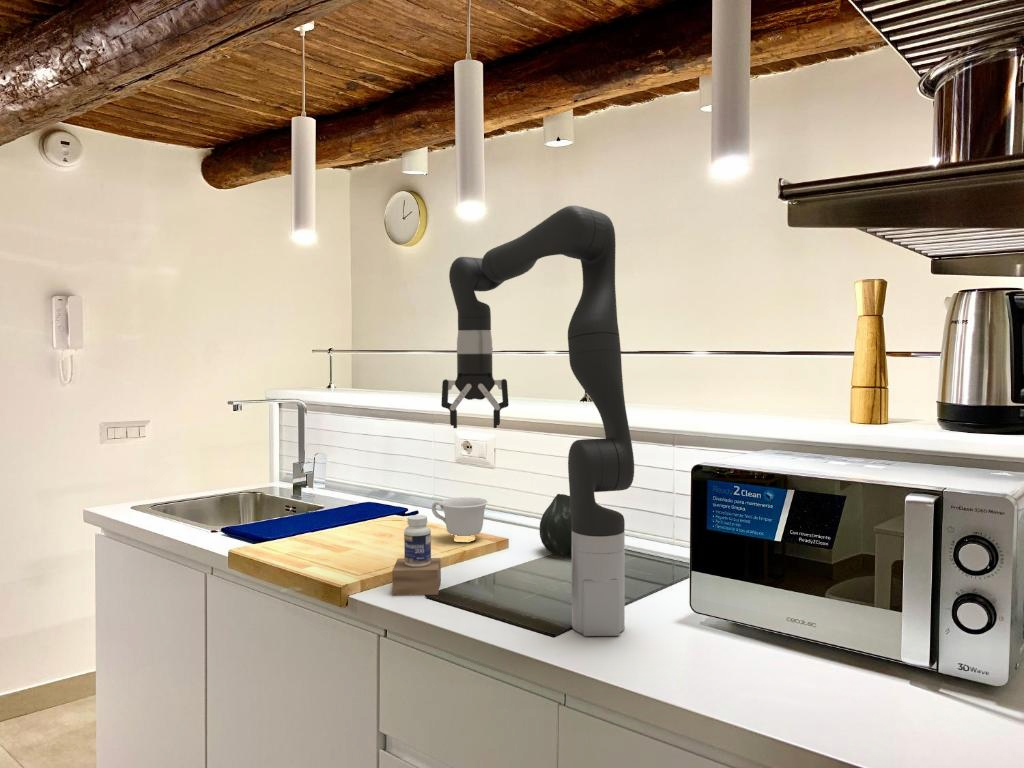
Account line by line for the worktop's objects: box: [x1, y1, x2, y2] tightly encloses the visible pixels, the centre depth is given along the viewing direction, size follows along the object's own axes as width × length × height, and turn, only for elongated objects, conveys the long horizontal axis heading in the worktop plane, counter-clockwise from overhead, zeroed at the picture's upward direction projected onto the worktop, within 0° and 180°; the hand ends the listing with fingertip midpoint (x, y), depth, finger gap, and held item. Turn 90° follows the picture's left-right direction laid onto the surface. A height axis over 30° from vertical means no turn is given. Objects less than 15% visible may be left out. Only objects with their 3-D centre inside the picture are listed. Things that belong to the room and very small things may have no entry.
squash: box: [539, 493, 572, 558], centre depth 188 cm, size 14×15×15 cm
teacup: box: [431, 496, 489, 536], centre depth 200 cm, size 12×15×10 cm
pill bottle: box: [403, 514, 432, 567], centre depth 160 cm, size 5×5×10 cm
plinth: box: [391, 557, 442, 596], centre depth 161 cm, size 9×9×5 cm
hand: (475, 427), depth 168 cm, fingers open, 8 cm apart
